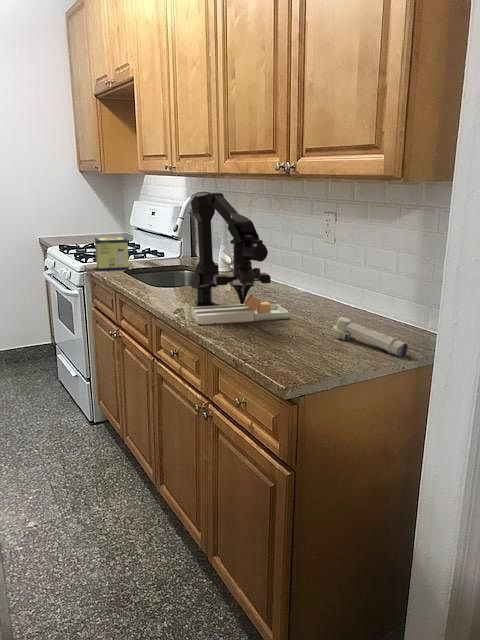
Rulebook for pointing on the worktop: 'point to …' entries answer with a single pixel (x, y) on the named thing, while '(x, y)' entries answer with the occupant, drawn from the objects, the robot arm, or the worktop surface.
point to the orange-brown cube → (252, 302)
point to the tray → (272, 314)
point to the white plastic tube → (368, 336)
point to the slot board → (222, 314)
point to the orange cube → (264, 308)
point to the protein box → (112, 254)
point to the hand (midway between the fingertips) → (241, 304)
